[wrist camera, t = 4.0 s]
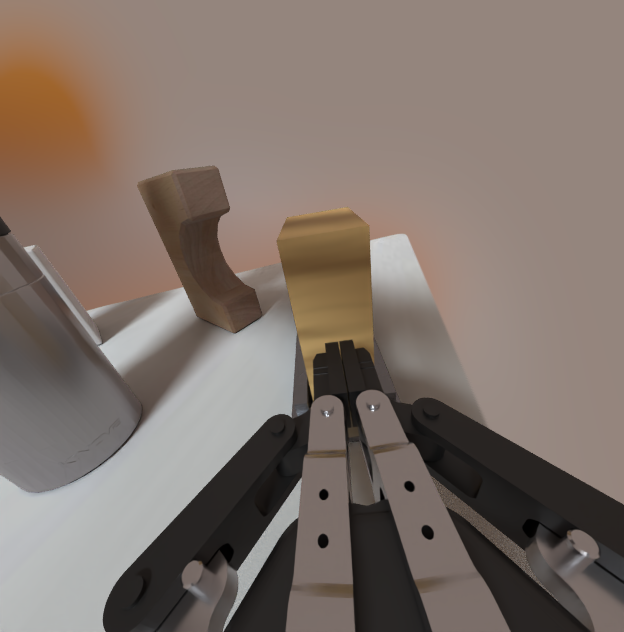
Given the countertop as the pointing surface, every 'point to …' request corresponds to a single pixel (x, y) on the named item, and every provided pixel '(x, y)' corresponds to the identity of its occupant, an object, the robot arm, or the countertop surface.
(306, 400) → the metal track
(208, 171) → the decorative block
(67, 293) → the supplement box
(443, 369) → the countertop surface
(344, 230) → the slider block
